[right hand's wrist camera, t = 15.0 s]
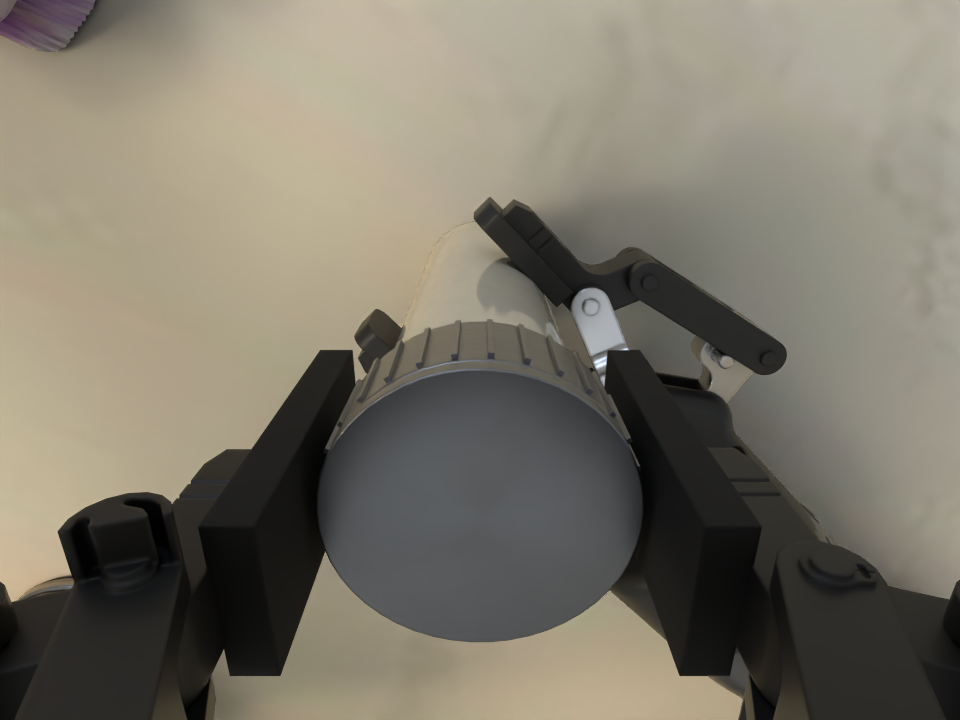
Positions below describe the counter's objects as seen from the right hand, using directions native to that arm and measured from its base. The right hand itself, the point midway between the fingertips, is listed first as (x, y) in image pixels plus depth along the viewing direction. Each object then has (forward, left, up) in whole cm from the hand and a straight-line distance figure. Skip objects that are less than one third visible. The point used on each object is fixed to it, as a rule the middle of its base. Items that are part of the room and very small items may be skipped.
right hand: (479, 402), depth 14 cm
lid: (0, 0, +4) cm, 4 cm away
